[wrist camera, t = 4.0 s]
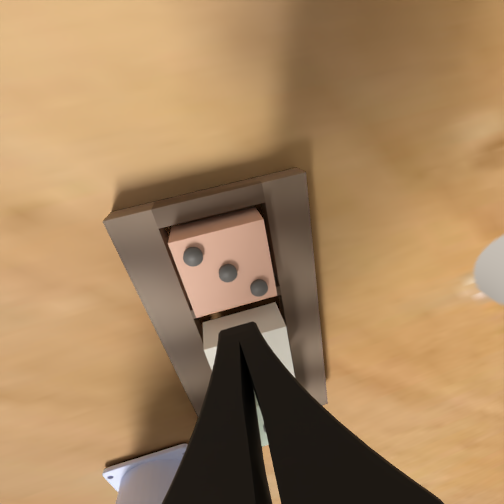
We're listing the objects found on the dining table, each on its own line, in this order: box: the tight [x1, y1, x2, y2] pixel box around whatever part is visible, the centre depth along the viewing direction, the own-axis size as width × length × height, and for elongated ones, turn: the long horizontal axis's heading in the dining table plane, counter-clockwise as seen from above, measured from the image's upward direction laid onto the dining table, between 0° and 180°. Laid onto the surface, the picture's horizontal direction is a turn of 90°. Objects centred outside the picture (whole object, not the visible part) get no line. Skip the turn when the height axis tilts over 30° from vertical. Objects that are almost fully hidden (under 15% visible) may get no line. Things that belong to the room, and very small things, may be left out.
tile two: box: [203, 302, 295, 393], centre depth 18 cm, size 5×5×3 cm
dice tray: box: [103, 168, 328, 417], centre depth 20 cm, size 21×11×2 cm, turn 11°
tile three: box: [168, 206, 277, 318], centre depth 16 cm, size 5×5×3 cm
